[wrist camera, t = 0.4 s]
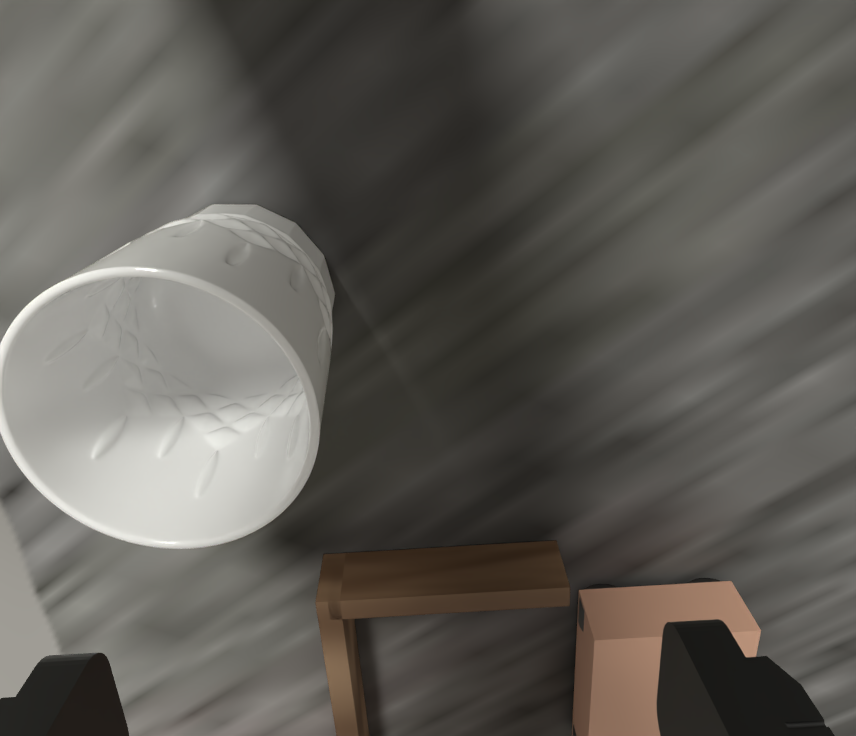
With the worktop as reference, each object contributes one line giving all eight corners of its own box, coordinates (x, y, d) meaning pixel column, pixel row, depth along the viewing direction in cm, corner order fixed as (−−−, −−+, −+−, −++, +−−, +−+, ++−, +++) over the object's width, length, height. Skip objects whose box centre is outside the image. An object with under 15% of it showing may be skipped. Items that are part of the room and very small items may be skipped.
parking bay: (323, 554, 31) (315, 602, 29) (556, 540, 31) (570, 587, 29) (355, 774, 38) (351, 831, 35) (549, 763, 38) (560, 818, 35)
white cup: (384, 244, 26) (370, 353, 17) (303, 414, 29) (253, 587, 19) (175, 145, 24) (33, 207, 15) (111, 337, 27) (-39, 486, 18)
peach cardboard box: (574, 582, 33) (592, 640, 29) (728, 573, 33) (763, 630, 29) (567, 730, 37) (582, 795, 34) (704, 722, 37) (732, 786, 34)
